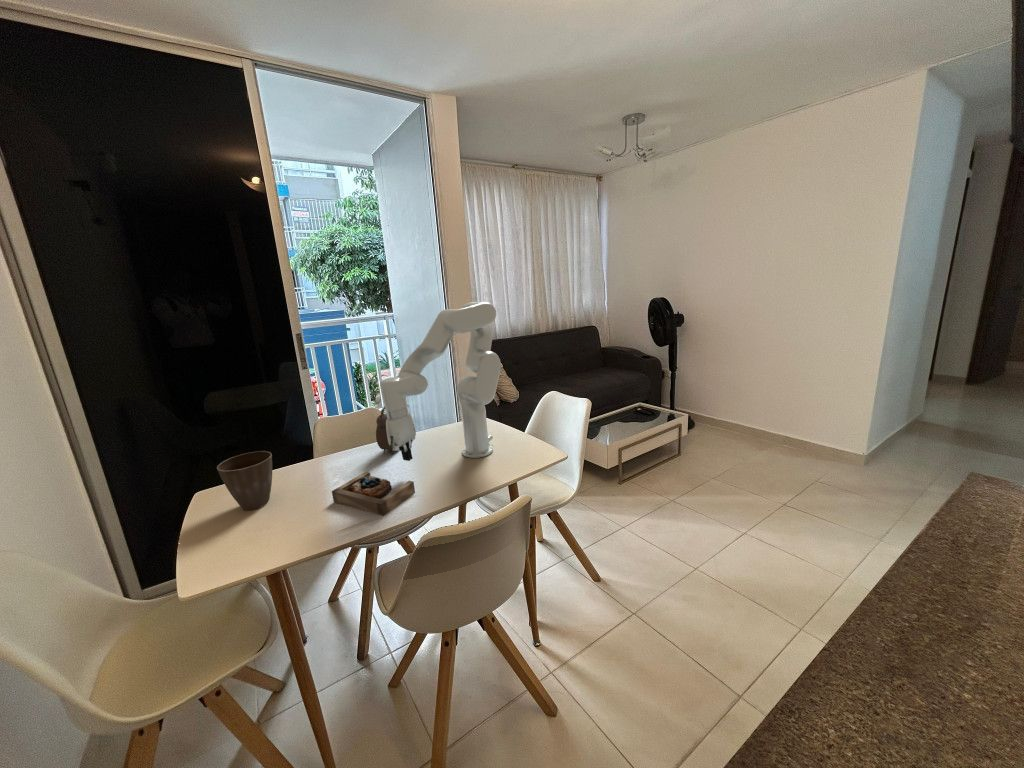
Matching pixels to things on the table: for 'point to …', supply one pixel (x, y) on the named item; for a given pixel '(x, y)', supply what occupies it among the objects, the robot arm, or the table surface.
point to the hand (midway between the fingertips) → (407, 459)
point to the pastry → (372, 487)
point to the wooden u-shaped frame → (371, 503)
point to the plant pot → (248, 478)
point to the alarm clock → (382, 432)
